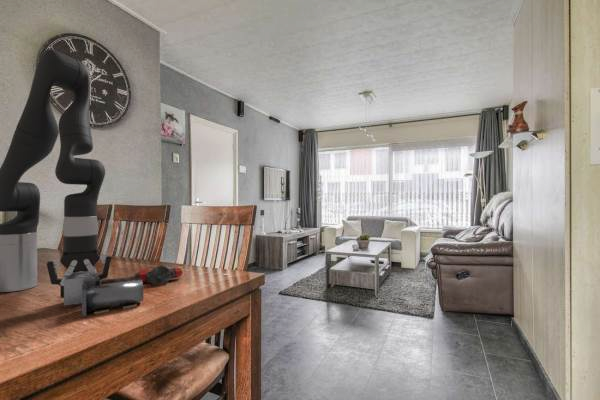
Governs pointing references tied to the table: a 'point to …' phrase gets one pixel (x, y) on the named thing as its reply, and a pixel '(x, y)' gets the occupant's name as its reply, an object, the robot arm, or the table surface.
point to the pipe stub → (111, 296)
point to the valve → (150, 276)
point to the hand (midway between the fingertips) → (80, 296)
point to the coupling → (76, 287)
